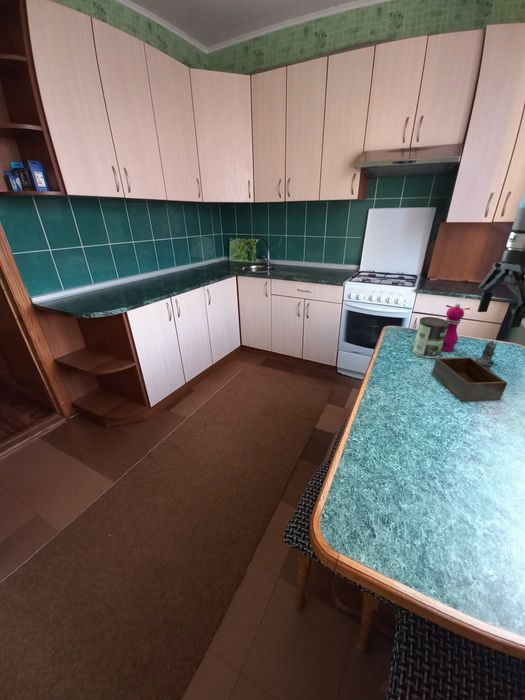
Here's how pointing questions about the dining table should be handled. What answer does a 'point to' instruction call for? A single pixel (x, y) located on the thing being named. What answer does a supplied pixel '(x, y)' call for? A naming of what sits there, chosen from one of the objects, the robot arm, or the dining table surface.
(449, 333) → the pepper mill
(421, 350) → the coffee can
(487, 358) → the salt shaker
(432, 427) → the dining table surface
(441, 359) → the holder
